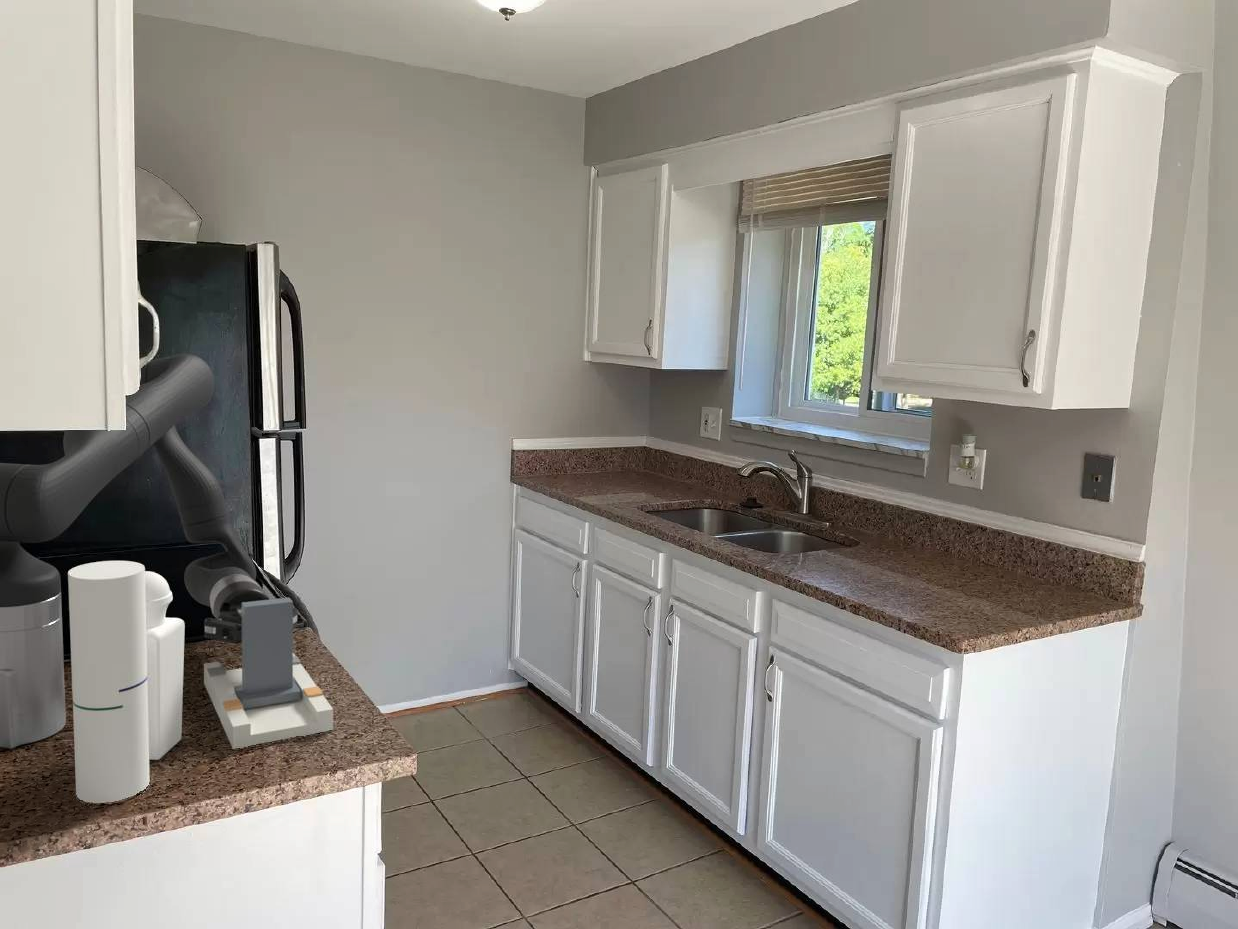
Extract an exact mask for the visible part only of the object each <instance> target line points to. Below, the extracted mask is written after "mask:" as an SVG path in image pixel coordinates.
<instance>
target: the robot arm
mask: <svg viewBox="0 0 1238 929" xmlns="http://www.w3.org/2000/svg"><path fill="white" fill-rule="evenodd" d="M149 361H150V362H148V361H147V362H148V363H147V364H146V365H144V366H143V367H142V368H141V382H140V387H139V390H138V392H137V393H135V394H134V395H129V396H127V397H126V416H127V429H126V430H118V431H106V430H66V429H65V430H64V434H63V441H62V443H63V444H62V445H63V450H64V451H63V452H64V456H63V457H61V458H60V459H57V460H55V461H54V462H52V463H47V464H23V463H4V462H0V748H5V749H14V748H17V747H19V746H20V745H25V744H31V743H33V742H34V743H35V742H37V741H41V740H44V739H46V738H48V737H49V738H50V737H51V736H53V735H55V734H57V733H59V732H60V731H62V730H63V728H64V727H65V726H66V723H67V719H66V718H67V716H66V712H67V711H66V690H65V668H64V665H65V664H64V662H65V661H64V643H63V642H64V637H63V616H62V614H63V613H62V612H63V611H62V584H61V582H62V581H61V574H60V572H59V570H58V569H57V567H55V566H54V565H52V564H50V563H48V562H45V561H43V560H40V559H39V558H37V557H35V556H33V555H32V554H31V553H29V552H27V551H26V550H25V549H24V548H23V547H22V546H21V544H20V543H26V544H27V543H30V544H32V543H33V544H34V543H43V542H48V541H51V540H53V539H56V538H58V536H60V535H61V534H62V533H63V532H65V531H66V530H67V529H68V528H70V526H71V525H72V524H73V523H74V521H75V520H76V519H77V518H78V517H79V515H80V514H81V513H82V512H83V511H84V510H85V509H86V507H87V506H88V505H89V504H90V503H91V501H93V499H94V498H95V497H96V496H97V495H98V493H100V491H102V490H103V489H104V488H105V487H106V486H107V485H108V484H109V483H110V482H112V481H113V479H115V477H116V476H117V475H119V474H120V473H121V472H122V471H123V470H125V469H127V468H128V467H129V466H130V465H131V464H133V463H134V462H136V460H137V459H139V458H140V457H141V456H142V455H143V454H144V453H146V451H147V450H148V449H150V448H151V446H152V448H153V449H154V451H155V454H156V456H157V457H158V459H159V461H160V464H161V466H162V468H163V470H164V472H165V474H166V477H167V479H168V482H169V485H170V487H171V490H172V493H173V497H174V500H175V502H176V503H175V504H176V508H177V511H178V514H179V518H180V523H181V525H182V529H183V532H184V536H185V539H186V540H187V541H188V542H189V543H192V544H204V543H217V544H220V545H222V546H223V548H224V550H225V551H223V552H219V553H215V554H212V555H208V556H205V557H201V558H197V559H195V560H193V561H192V562H191V563H189V564H188V565H187V567H186V569H185V571H184V575H183V577H184V578H183V579H184V584H185V588H186V590H187V592H188V593H189V595H190V596H191V597H192V598H193V599H194V600H195V601H196V602H198V603H199V604H201V605H204V606H207V607H210V609H211V613H212V616H213V617H215V618H213V617H207V618H204V638H206V639H212V640H216V641H220V642H221V641H222V642H225V643H229V644H235V645H239V644H242V603H243V602H252V601H261V600H270V597H269V596H268V595H267V593H266V592H265V591H264V589H263V588H262V587H261V586H260V584H259V583H258V582H257V581H256V578H257V570H256V566H255V564H254V562H253V560H252V558H251V557H250V556H249V554H248V553H247V550H246V549H245V547H244V546H243V545H242V543H241V542H240V540H239V538H238V535H237V534H236V532H235V529H234V527H233V524H232V522H231V519H230V515H229V512H228V508H227V505H226V500H225V498H224V493H223V491H222V488H221V486H220V483H219V482H218V480H217V478H216V476H214V474H213V473H212V472H211V470H210V469H209V468H208V467H207V466H206V465H205V464H204V463H203V462H202V461H201V460H200V459H199V458H198V457H197V456H195V454H194V453H193V451H191V450H190V448H189V447H188V446H187V445H186V444H185V442H183V439H182V438H181V437H180V435H179V433H178V431H177V429H176V425H177V424H178V423H180V422H181V421H183V420H184V419H186V418H187V417H189V416H191V415H192V414H194V413H196V412H198V411H200V410H201V409H203V408H204V407H206V406H207V404H209V402H210V401H211V400H212V397H213V393H214V389H215V380H214V374H213V372H212V369H211V368H210V366H209V365H208V364H207V362H206V361H204V360H203V359H202V358H200V357H199V356H197V355H194V354H190V353H179V354H173V355H168V356H163V357H161V358H157V359H153V360H152V359H151V360H149ZM296 627H298V608H294V607H293V630H294V629H295V628H296Z"/></svg>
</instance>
